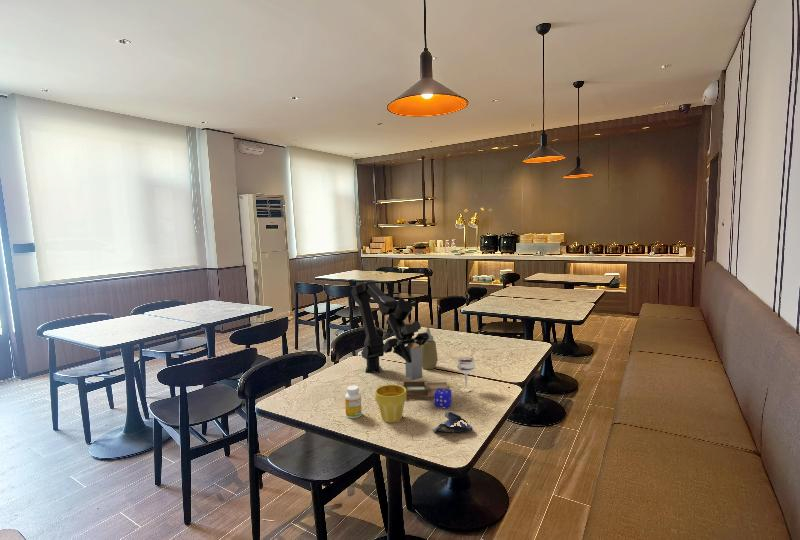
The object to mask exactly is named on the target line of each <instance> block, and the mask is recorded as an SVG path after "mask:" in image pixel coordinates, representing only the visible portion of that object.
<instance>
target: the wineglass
mask: <svg viewBox="0 0 800 540" xmlns="http://www.w3.org/2000/svg"><path fill="white" fill-rule="evenodd" d="M475 361H476V360H475V358H473V357H469V356H463V357H462V356H461V357H458V358H457V363H456V367H457V369H458V370H459V371H460V372H461V373H463V375H464V381H465V387H464V388H465V389H467V388H468V374H471V373H472V372H473V371H474V370H475V366H476V364H475Z"/></svg>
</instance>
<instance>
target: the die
mask: <svg viewBox="0 0 800 540" xmlns="http://www.w3.org/2000/svg"><path fill="white" fill-rule="evenodd" d="M452 397H453V396H452V389H449V388H448V389H440V388H438V389H437V391H436V392H435V393H434V398H435V399H434V407H435V406H436V407H435V408H441V407H445V408H444V409H449V408H450V407H451V405H450V404H452V403H451V402H453V401H452ZM449 406H450V407H449Z"/></svg>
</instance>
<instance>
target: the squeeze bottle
mask: <svg viewBox="0 0 800 540" xmlns="http://www.w3.org/2000/svg"><path fill="white" fill-rule="evenodd" d="M425 332H426V333H428V335H429V339H428V340H427V341H426V343H425V344H424V345H421V347H422V369H425V370H433V369H435V368H436V367H437V364H438V352H437V351H438V350H437V344H436V341H435V340H434V335H432V334H431V329H430V328H429V327H428V328H426V330H425Z"/></svg>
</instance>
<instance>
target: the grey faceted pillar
mask: <svg viewBox="0 0 800 540" xmlns="http://www.w3.org/2000/svg"><path fill="white" fill-rule="evenodd" d="M405 349H406V351H407V353H408V355H409V357H410V360H411V363H408V362H407V361H406V360H405V359H404V361H405V362H404V363H405V378H407V379H409V380H410V381H416V380H418V379H423V367H422V347H421V346H419V344H416V343H411V344H406V345H405Z"/></svg>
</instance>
